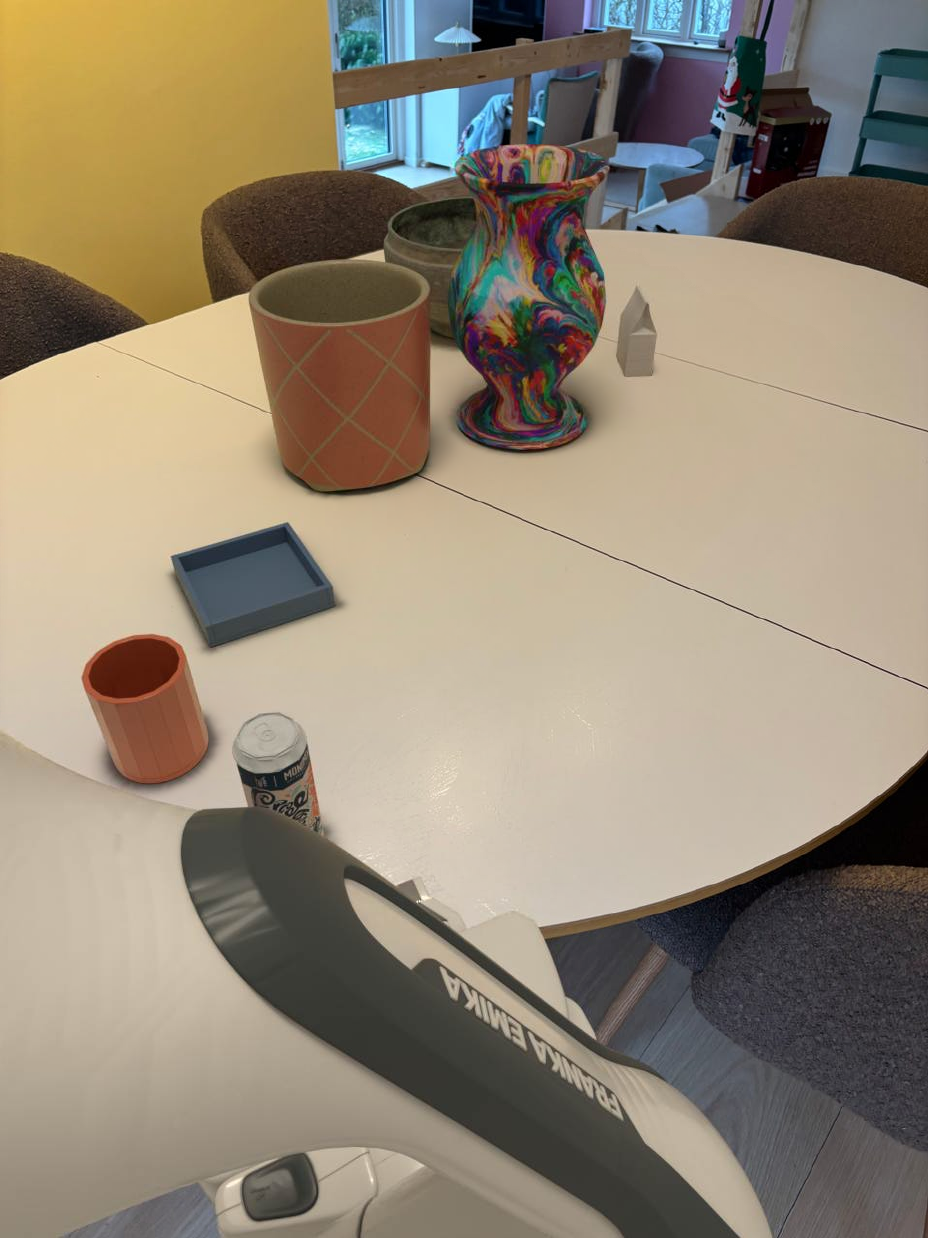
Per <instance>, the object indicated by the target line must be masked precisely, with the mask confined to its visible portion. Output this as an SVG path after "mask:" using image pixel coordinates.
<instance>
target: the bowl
mask: <svg viewBox="0 0 928 1238" xmlns="http://www.w3.org/2000/svg"><path fill="white" fill-rule="evenodd" d="M475 224H476V204H475V201H474V199H473V197H472V196H459V197H446V198H441V199H435V200H434V199H433V200H428V201H425V202H421V203H418V204H413V205H410V206H408V207H405V208H403V209H400V210H399V211H398V212H396V213H395V214H393V215H392V216H391V217H390V218H389V220H388V222H387V231H388V232H387V233H386V235H385V237H384V239H383V256H384V262H387V263H392V264H396V265H400V266H403V267H406V268H408V269H411V270H413V271H415V272H417V273H419V274H420V275H421V276H423V277H424V278H425V279H426V280H427V282H428V284H429V287H430V330H431V331H433V332H435V333H437V334H439V335H441V336H445V337H447V338H452V339H455V338H454V335H453V332H452V328H451V325H450V321H449V310H448V300H447V297H448V291H449V285H450V278H451V272H452V269H453V267H454V265H455V264H456V262H457V260H458V258H459V256H460V254H461V252H462V250H463V248H464V247H465V245H466V243H467V241H468V238H469V236H470V234H471V232H472V230H473V228H474V226H475Z"/></svg>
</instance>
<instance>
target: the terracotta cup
mask: <svg viewBox="0 0 928 1238" xmlns="http://www.w3.org/2000/svg"><path fill="white" fill-rule="evenodd" d="M81 682H82V685H83V689H84V691H85V694H86V697H87V699H88V703H89V704H90V707H91V709H92V712H93V715H94V717H95V719H96V722H97V724H98V728H99V729H100V731H101V734H102V736H103V739H104V741H105V744H106V747H107V749H108V752H109V755H110V757H111V759H112V761H113V764H114V766H115V768H116V769H117V771H118V772H119V774H121V775H122V776H123V777H124V778H126V779H128V780H129V781H132V782H135V783H140V784H160V783H165V782H168V781H172V780H175V779H177V778H179V777H181V776H183V775H185V774H186V773H188V772H189V771H191V770H192V769H194V768H195V767H196V766H197V765H198V764H199V763H200V761H201V760H202V759H203V757H204V756H205V754H206V752H207V749H208V746H209V731H208V727H207V724H206V721H205V717H204V714H203V710H202V706H201V703H200V700H199V696H198V693H197V690H196V686H195V682H194V679H193V675H192V672H191V669H190V664H189V661H188V658H187V655H186V653H185V650H184V648H183V646H182V645H181V644H180V643H179V642H177V641H175V640H174V639H173V638H171V637H170V636H164V635H160V634H155V633H146V634H133V635H129V636H127V637H124V638H120V639H117V640H115V641H112V642H111V643H109V644H107V645H105V646H104V647H102V648H100V649H99V650H97V651H96V652H95V653H94V654H93V656H91V657H90V659H89V660H88V661H87V662H86V663H85V666H84V669H83V672H82V675H81Z"/></svg>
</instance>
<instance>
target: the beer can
mask: <svg viewBox="0 0 928 1238" xmlns="http://www.w3.org/2000/svg"><path fill="white" fill-rule="evenodd" d="M231 753H232V757H233V760H234V761H235V763H236V766H237V770H238V774H239V778H240V783H241V787H242V790H243V793H244V797H245V801H246V805H247V807H256V806H258V807H265V808H269V809H272V810H275V811H277V812H279V813H282V814H284V815H286V816H288V817H290V818H292V819H294V820H295V821H297V822H299V823H301V824H303V825H304V826H306V827H308V828H310V829H312V830H314V831H315V832H317V833H318V834H320V835H322V836H323V837H325V831H324V828H323V821H322V816H321V815H322V814H321V811H320V805H319V799H318V794H317V788H316V784H315V778H314V772H313V767H312V760H311V755H310V751H309V745H308V736H307V734H306V731H305V729H304V728H303V727H302V726H301V724H300V723H299V722H297V721H296V720H295V719H294V718H293V717H292V716H289V715H286V714H284V713H282V712H280V711H271V712H260V713H258V714H256V715H254V716H252V717H251V718H249V719H246V720H245V721H243V722H242V724H241V727H240V728H239V730H238V732H237V734H236V735H235V738H234V740H233V742H232V747H231Z"/></svg>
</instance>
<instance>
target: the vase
mask: <svg viewBox="0 0 928 1238" xmlns="http://www.w3.org/2000/svg"><path fill="white" fill-rule="evenodd" d="M610 167H611V166H610V163H608V161H607V160H606V159H605V158H604V157H603V156H600V155H599V154H597V153H594V152H591V151H588V150H585V149H581V148H575V147H571V146H564V145H563V146H562V145H555V144H537V143H534V144H532V143H531V144H530V143H529V144H528V143H527V144H526V143H522V144H505V145H498V146H497V145H496V146H489V147H484V148H479V149H476V150H473V151H470V152H468V153H465V154H463V155H462V156H461V157H459V158H458V159H457V160H456V161H455V163H454V166H453V168H454V173H455V175H456V176H457V178H458V179H459V180H460V181H461V182H462V183H463V184H464V186H465V187H466V188H467V189H468V191H469V193H470V195H471V197H473V199H474V201H475V204H476V224H475V226H474V228H473V230H472V232H471V234H470V236H469V238H468V241H467V243H466V245H465V247H464V248H463V250H462V252H461V254H460V256H459V258H458V260H457V262H456V264H455V265H454V267H453V269H452V272H451V278H450V285H449V291H448V297H447V300H448V310H449V321H450V325H451V328H452V332H453V335H454V338H453V339H454V342H455V344H456V346H457V347H458V349H459V351H460V352H461V354H462V355H463V356H464V358H465V359H466V361H467V363H469V365H471V366H472V368H474V370H476V372H478V373H479V374H480V376H482V378H483V380H484V382H485V383H486V386H485V387H484V389H483V388H482V389H481V390H479V391H477V392H474V393H473V394H471V395H470V396H469V397H468V398H467V399H465V401H463V403H462V404H461V405H460V406H459V408H458V409H457V411H456V417H455V418H456V422H457V425H458V426H459V428H460V429H461V430H462V432H464V434H466V435H467V436H469V437H470V438H471V439H474V440H476V441H478V442H481V443H483V444H486V445H490V446H493V447H496V448H502V449H509V450H539V449H546V448H552V447H556V446H559V445H562V444H565V443H567V442H570V441H572V440H573V439H576V438H577V437H578V436H580V434H581V433H583V432H584V430H585V429H586V427H587V425H588V420H589V419H588V414H587V411H586V409H584V407H583V406H582V405H581V403H580V402H579V401H578V400H576V398H575V397H574V396H572V395H570V394H568V393H567V392H565V391H563V390H562V389H561V388H560V386H561V384H562V383H563V381H564V380H565V378H566V377H568V376H569V375H570V374H571V373H572V372H573V371H574V370H576V369H577V368H578V367H579V366H580V365H581V364H582V363H583V361H584V360H585V359H586V358H587V356H588V355H589V354H590V352H592V350H593V348H594V347H595V345H596V342H597V340H598V337H599V335H600V332H601V329H602V327H603V322H604V317H605V311H606V305H607V294H606V293H607V292H606V291H607V290H606V281H605V279H606V278H605V272H604V270H603V267H602V266H601V263H600V261H599V258H598V257H597V254H596V252H595V250H594V247H593V246H592V243H591V240H590V238H589V236H588V233H587V230H586V228H585V226H584V218H585V210H586V204H587V202H588V201H589V199H590V198H591V196H592V195H593V192H594V191H595V190H596V189H597V188H598V186H600V184H601V183H602V182H603V181H605V180H606V178H607V177H608V176H609V172H610V169H611V168H610Z"/></svg>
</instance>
